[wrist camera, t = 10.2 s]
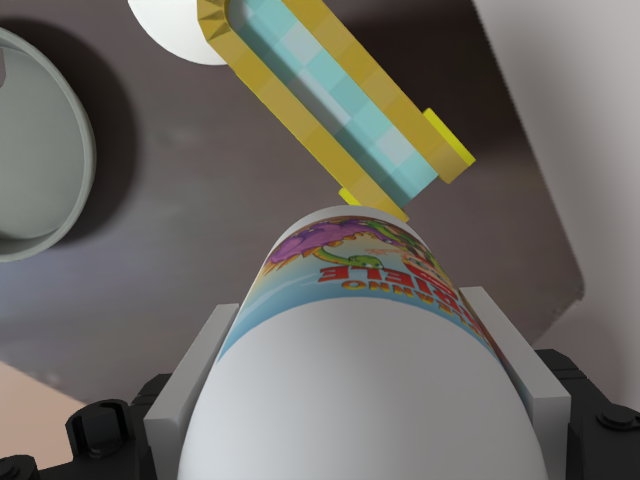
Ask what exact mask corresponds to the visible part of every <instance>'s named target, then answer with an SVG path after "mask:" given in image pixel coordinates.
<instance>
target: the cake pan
mask: <svg viewBox="0 0 640 480" xmlns="http://www.w3.org/2000/svg"><path fill="white" fill-rule="evenodd" d="M0 48H3V54H4V61H5V68H6V79H5V82H4V85H3V86H2V87H0V262H11V261H17V260H21V259H25V258H28V257H31V256H34V255H36V254H39V253H41V252H42V251H44V250H46V249H48V248H49V247H51V246H53V245H54V244H55V243H57V242H58V241H59V240H61V239H62V238H63V237H64V236H65V235H66V234H67V232H68V231H69V230H70V229H71V228H72V226H73V225H74V224H75V222H76V221H77V219H78V217H79V216H80V214H81V212H82V210H83V208H84V205H85V203H86V201H87V198H88V196H89V193H90V191H91V188H92V185H93V182H94V178H95V172H96V162H97V153H96V142H95V137H94V133H93V129H92V126H91V123H90V120H89V118H88V115H87V113H86V111H85V109H84V107H83V105H82V103H81V101H80V100H79V98H78V96H77V95H76V94H75V92H74V91H73V89H72V88H71V87H70V85H69V84H68V82H67V81H66V79H65V78H64V77H63V75H62V74H61V73H60V71H59V70H58V69H57V68H56V67H55V66H54V65H53V64H52V62H51V61H50V60H49V59H48V58H47V57H46V56H45V55H43V53H42V52H40V51H39V50H38V49H36V48H35V47H34V46H33V45H31V44H30V43H28V42H27V41H25V40H24V39H23V38H21V37H19V36H17V35H16V34H14V33H12V32H10V31H8V30H6V29H4V28H1V27H0Z"/></svg>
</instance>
